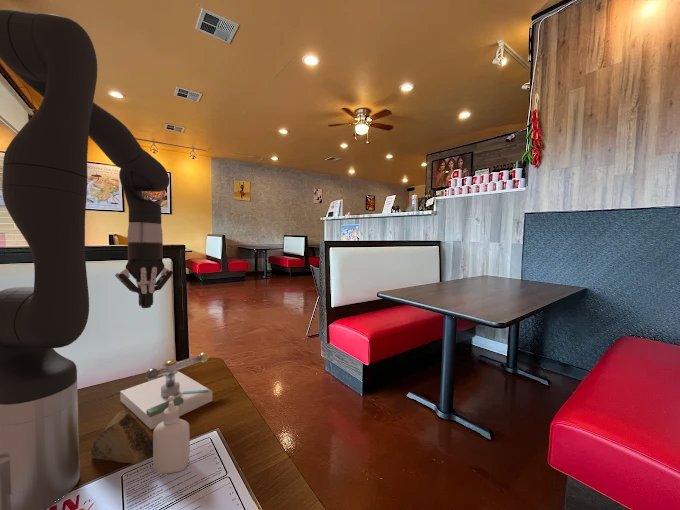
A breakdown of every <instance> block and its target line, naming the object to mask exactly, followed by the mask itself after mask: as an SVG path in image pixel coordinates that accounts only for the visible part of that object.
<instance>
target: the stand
mask: <svg viewBox="0 0 680 510" xmlns="http://www.w3.org/2000/svg"><path fill="white" fill-rule="evenodd" d="M119 393H120V395H119V396H120V402H121V403H122V404H123V405H124V406H126V408H127V409H128V410H130V411H131V412H132V414H134V415H135V416H136V417H137V419H139V420H140V421H142V422H143V424H144V425H146V426H147V427H148V429H150V430H154V429H155V428H156V426H157V425H158V424H159V423H161V422H163V421H164V410H165V409H167V408H168V406H169V402H171V401H173V402H174V405H175V406H177V407H179V417H181V416H183V415H185V414H187V413H189V412H191V411H194V410H196V409H199V408H200V407H202V406H204V405H206V404H208V403H210V402H211V403H212V402H213V390H212V389H209V388H208V387H207V386H204V385H203V384H201V383H199V382H198V381H196V380H194V379H193V378H191V377H189V376H187V375H186V374H184V373H182V372H180V371H178V372H177V373H176V374H175V385H173V386H171V387H166V376H163V375H162V376H161V377H160V376H159V377H157V378H156V379H154V380H148V381H146V382H143V383H140V384H137V385H134V386H131V387H129V388H126V389H123V390H120V391H119Z"/></svg>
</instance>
